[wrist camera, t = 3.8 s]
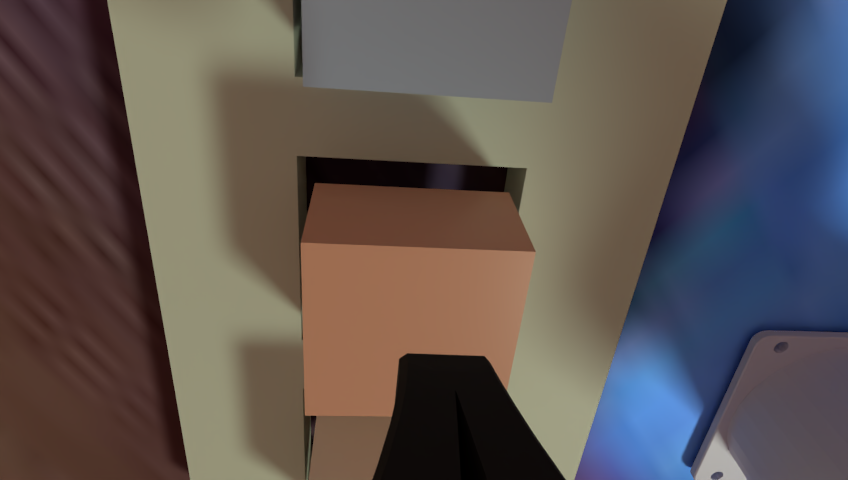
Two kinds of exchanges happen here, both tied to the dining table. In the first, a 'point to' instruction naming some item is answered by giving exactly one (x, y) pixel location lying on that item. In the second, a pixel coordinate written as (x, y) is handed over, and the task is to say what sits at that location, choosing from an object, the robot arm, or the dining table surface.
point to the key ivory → (347, 447)
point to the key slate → (435, 46)
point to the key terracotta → (405, 287)
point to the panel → (389, 141)
